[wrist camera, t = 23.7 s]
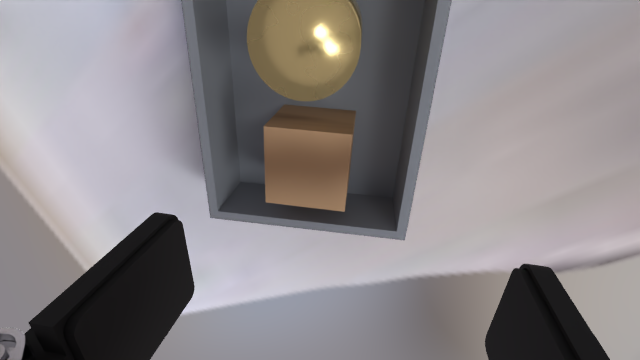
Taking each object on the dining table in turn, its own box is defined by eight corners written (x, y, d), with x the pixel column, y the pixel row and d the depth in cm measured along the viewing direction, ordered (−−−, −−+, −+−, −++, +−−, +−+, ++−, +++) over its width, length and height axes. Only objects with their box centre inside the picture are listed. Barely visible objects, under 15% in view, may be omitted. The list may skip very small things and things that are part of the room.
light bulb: (378, 37, 20) (383, 59, 14) (313, 84, 22) (293, 120, 16) (331, -42, 18) (314, -54, 12) (265, 16, 20) (223, 29, 14)
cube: (349, 176, 25) (344, 211, 20) (284, 169, 25) (265, 202, 21) (356, 110, 22) (352, 134, 18) (284, 104, 23) (263, 126, 19)
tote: (214, -75, 19) (167, -101, 15) (446, -71, 18) (470, -97, 14) (236, 184, 27) (210, 217, 23) (399, 201, 26) (404, 240, 21)
